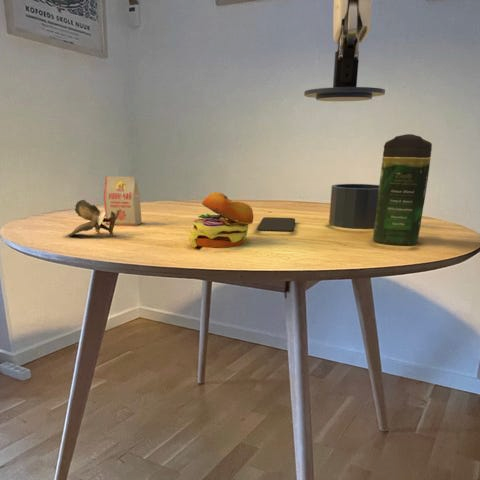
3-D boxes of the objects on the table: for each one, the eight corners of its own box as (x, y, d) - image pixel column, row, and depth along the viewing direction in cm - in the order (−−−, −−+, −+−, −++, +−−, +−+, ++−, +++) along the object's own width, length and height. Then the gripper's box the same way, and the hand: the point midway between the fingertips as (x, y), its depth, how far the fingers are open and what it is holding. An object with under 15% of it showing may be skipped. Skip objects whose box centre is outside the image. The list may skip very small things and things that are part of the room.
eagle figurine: (121, 225, 95) (77, 216, 95) (118, 197, 90) (72, 188, 89) (110, 251, 91) (64, 242, 90) (107, 224, 85) (57, 215, 85)
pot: (379, 223, 106) (383, 184, 103) (387, 232, 96) (392, 189, 93) (327, 221, 108) (330, 183, 105) (330, 230, 97) (333, 188, 94)
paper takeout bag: (113, 221, 106) (109, 175, 103) (141, 222, 105) (138, 176, 102) (106, 224, 103) (101, 177, 99) (135, 225, 102) (131, 177, 98)
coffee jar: (417, 250, 80) (434, 133, 73) (370, 246, 82) (382, 133, 76) (418, 240, 88) (434, 134, 82) (375, 236, 91) (387, 134, 84)
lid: (377, 101, 80) (382, 57, 78) (390, 95, 68) (396, 43, 66) (303, 102, 82) (305, 59, 79) (304, 96, 70) (306, 45, 67)
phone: (255, 229, 93) (263, 217, 107) (255, 233, 94) (263, 220, 107) (293, 230, 92) (295, 217, 106) (292, 234, 93) (295, 221, 106)
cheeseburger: (178, 241, 85) (189, 185, 83) (230, 250, 90) (242, 198, 88) (197, 251, 77) (209, 190, 74) (254, 261, 82) (267, 203, 79)
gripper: (391, -76, 60) (376, 84, 66) (372, -32, 75) (362, 94, 82) (331, -73, 61) (322, 85, 67) (325, -30, 76) (318, 95, 83)
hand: (344, 89), depth 74 cm, fingers closed on lid, 3 cm apart
